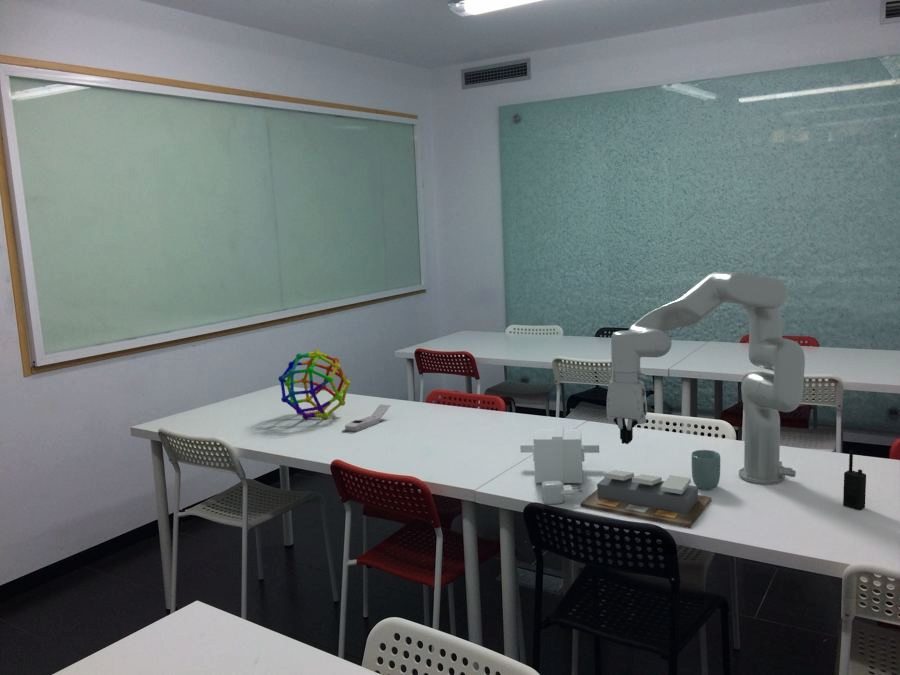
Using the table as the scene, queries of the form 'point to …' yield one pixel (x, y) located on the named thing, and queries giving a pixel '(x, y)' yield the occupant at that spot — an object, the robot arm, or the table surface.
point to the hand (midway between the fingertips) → (626, 442)
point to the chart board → (648, 510)
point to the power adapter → (556, 492)
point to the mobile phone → (367, 420)
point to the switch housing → (647, 495)
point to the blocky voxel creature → (558, 454)
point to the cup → (706, 469)
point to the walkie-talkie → (854, 487)
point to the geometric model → (290, 383)
